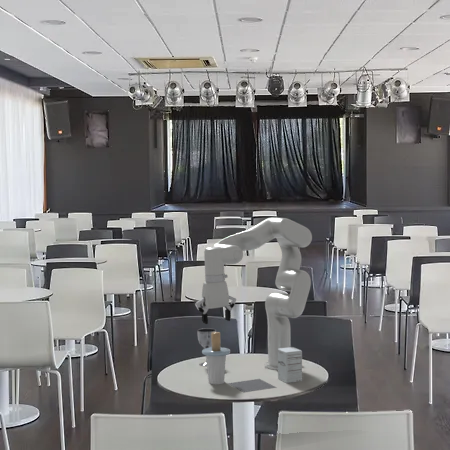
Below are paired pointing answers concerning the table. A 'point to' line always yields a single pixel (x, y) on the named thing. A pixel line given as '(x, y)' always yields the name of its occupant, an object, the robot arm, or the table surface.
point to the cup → (216, 369)
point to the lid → (216, 347)
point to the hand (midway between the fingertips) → (216, 321)
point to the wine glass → (205, 339)
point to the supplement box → (289, 364)
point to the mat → (251, 385)
